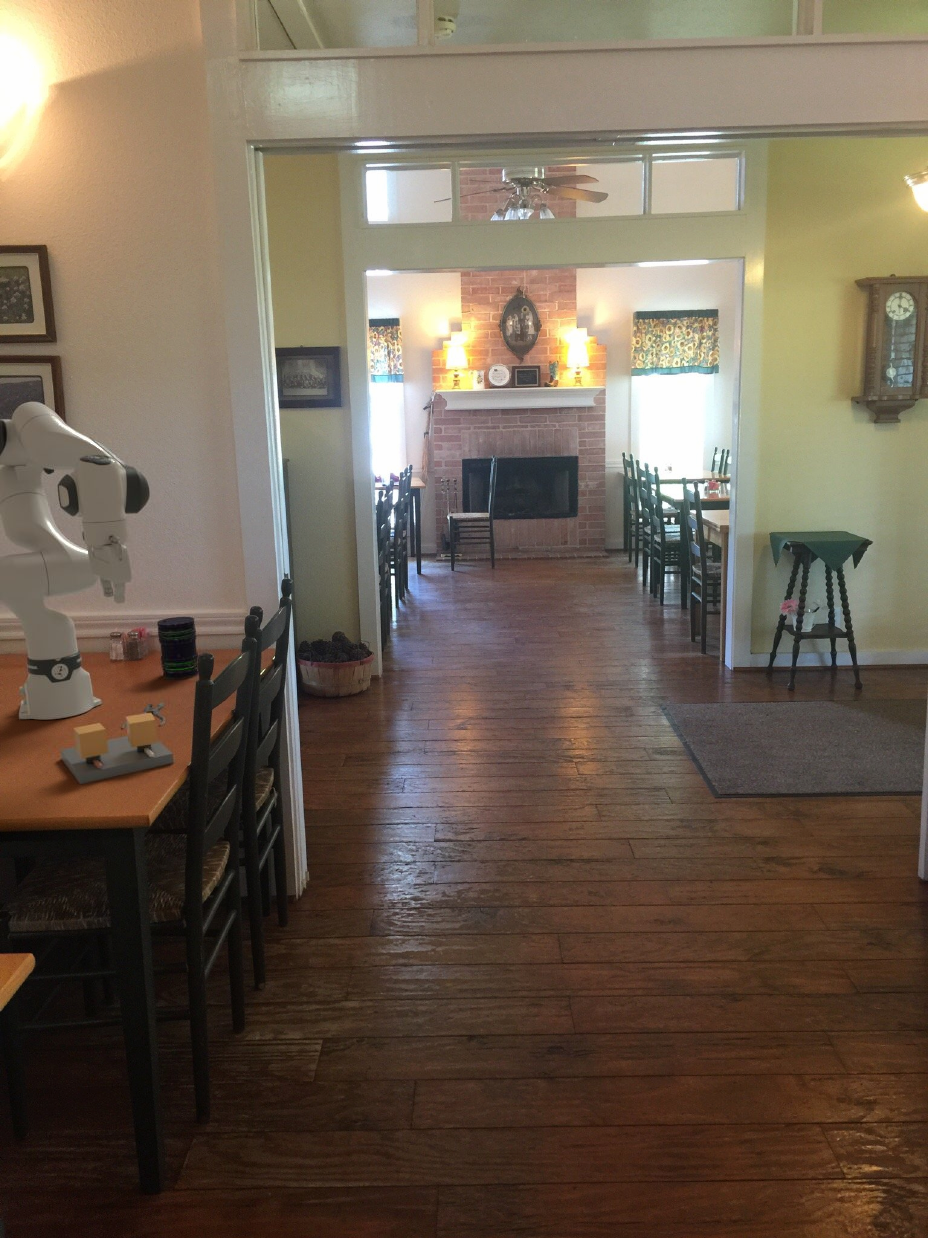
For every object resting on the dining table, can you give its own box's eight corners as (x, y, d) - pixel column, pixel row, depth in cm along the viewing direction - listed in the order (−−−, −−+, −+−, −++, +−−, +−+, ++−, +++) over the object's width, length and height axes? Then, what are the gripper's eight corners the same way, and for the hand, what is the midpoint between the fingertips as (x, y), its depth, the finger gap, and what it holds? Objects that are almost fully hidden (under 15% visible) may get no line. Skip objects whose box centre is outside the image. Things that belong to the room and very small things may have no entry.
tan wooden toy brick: (153, 735, 203) (150, 712, 202) (157, 743, 199) (155, 719, 198) (128, 739, 201) (125, 716, 200) (131, 747, 197) (129, 723, 195)
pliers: (121, 729, 220) (122, 705, 238) (121, 733, 220) (122, 709, 238) (166, 723, 222) (163, 700, 241) (166, 727, 223) (164, 704, 241)
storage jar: (202, 668, 273) (197, 615, 270) (197, 677, 263) (192, 623, 260) (165, 671, 272) (159, 618, 269) (159, 680, 262) (153, 625, 259)
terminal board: (61, 759, 203) (56, 718, 201) (149, 740, 213) (144, 701, 211) (80, 784, 188) (74, 740, 186) (173, 763, 198) (169, 721, 196)
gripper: (135, 536, 197) (142, 604, 200) (110, 529, 214) (117, 591, 217) (102, 540, 194) (111, 608, 197) (80, 532, 211) (88, 595, 214)
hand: (114, 599), depth 207 cm, fingers open, 8 cm apart
